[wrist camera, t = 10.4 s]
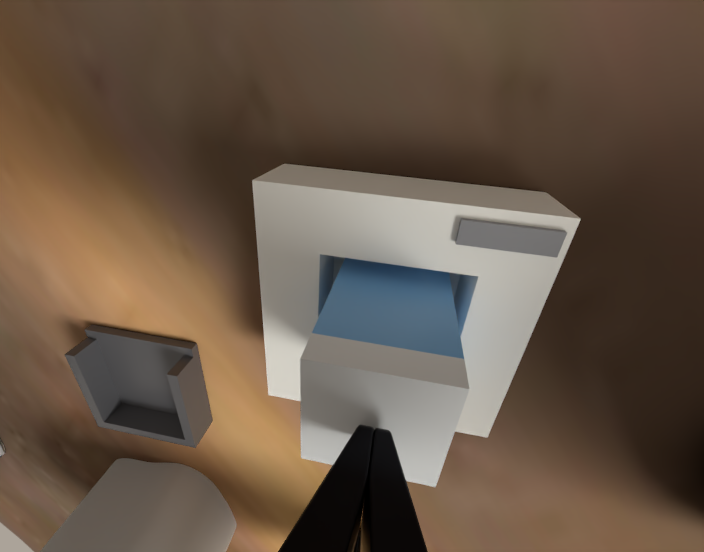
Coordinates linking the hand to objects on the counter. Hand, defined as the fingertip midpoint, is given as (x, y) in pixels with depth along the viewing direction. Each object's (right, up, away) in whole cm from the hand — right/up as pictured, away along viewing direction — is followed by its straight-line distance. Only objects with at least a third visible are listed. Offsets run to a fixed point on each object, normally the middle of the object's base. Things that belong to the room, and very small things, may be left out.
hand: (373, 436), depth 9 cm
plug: (+1, +3, +6) cm, 7 cm away
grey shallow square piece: (-13, -2, +13) cm, 18 cm away
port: (+1, +4, +7) cm, 8 cm away
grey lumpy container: (-16, -16, +21) cm, 31 cm away
